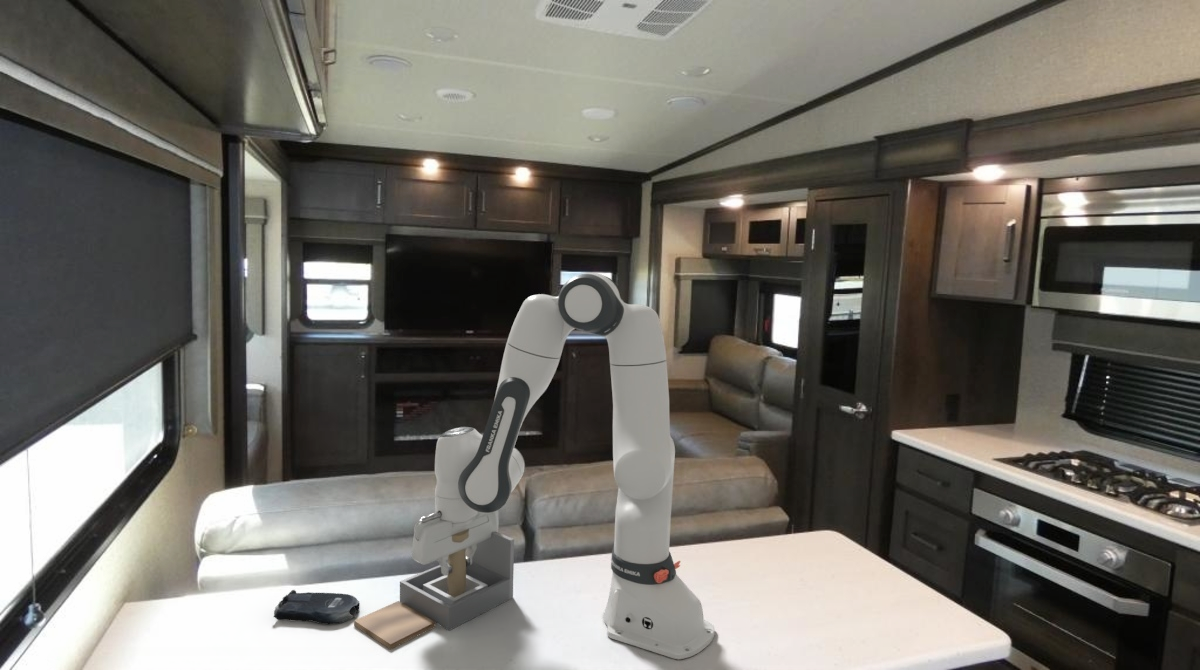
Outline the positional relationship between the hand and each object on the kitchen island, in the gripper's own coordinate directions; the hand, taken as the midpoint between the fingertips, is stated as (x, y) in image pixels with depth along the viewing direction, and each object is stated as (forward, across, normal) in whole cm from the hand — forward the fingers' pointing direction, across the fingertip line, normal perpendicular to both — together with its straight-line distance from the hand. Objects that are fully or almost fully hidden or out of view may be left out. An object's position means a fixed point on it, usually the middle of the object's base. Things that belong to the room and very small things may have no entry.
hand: (456, 569), depth 138 cm
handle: (+6, 0, 0) cm, 7 cm away
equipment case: (+7, 0, 0) cm, 7 cm away
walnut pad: (+7, -14, +1) cm, 16 cm away
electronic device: (+7, -21, +16) cm, 28 cm away
